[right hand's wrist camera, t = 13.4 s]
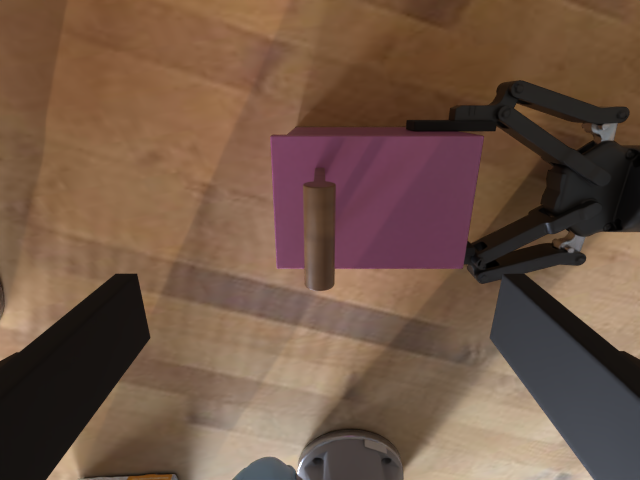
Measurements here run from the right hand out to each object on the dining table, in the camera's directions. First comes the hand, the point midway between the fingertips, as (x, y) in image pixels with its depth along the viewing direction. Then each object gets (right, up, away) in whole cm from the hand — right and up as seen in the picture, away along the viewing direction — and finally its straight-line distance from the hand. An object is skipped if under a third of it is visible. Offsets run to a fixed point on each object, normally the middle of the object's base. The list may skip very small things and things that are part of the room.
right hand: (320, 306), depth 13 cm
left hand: (+7, +7, +18) cm, 21 cm away
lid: (+4, +5, +14) cm, 15 cm away
